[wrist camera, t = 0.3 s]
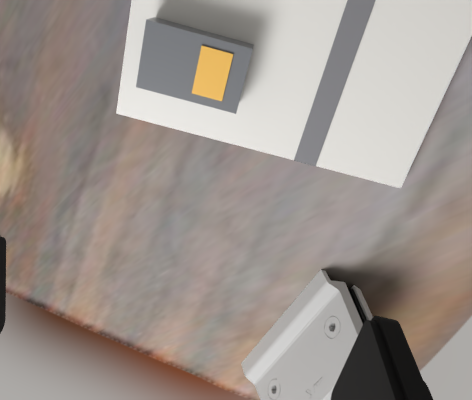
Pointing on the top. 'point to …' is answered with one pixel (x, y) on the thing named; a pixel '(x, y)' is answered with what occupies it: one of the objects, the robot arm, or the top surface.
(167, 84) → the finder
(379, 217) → the top surface
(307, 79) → the white rectangular board
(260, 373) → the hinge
